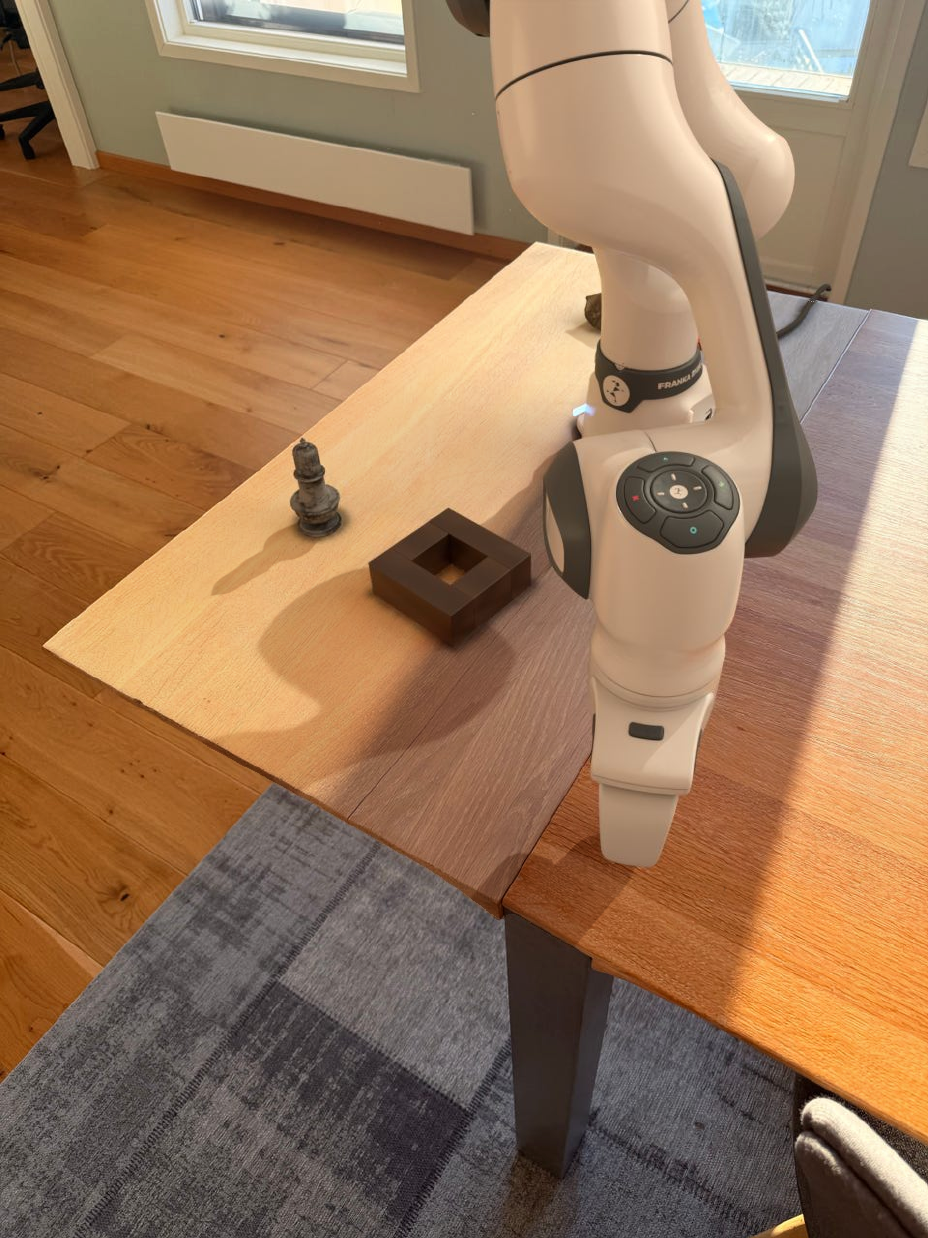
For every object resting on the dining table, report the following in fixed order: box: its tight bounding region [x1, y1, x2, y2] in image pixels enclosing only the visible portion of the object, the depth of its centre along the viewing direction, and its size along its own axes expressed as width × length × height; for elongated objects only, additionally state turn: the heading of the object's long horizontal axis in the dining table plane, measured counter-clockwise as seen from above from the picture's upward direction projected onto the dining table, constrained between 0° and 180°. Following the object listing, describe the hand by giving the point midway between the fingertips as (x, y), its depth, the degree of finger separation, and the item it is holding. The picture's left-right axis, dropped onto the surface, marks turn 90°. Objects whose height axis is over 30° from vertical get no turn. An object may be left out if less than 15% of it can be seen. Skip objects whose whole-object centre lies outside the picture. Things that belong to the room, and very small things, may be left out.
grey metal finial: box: [289, 437, 343, 538], centre depth 104 cm, size 6×6×12 cm
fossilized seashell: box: [583, 291, 602, 330], centre depth 136 cm, size 8×7×10 cm
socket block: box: [367, 507, 532, 648], centre depth 97 cm, size 12×12×4 cm
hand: (636, 786), depth 72 cm, fingers closed on pill bottle, 5 cm apart
